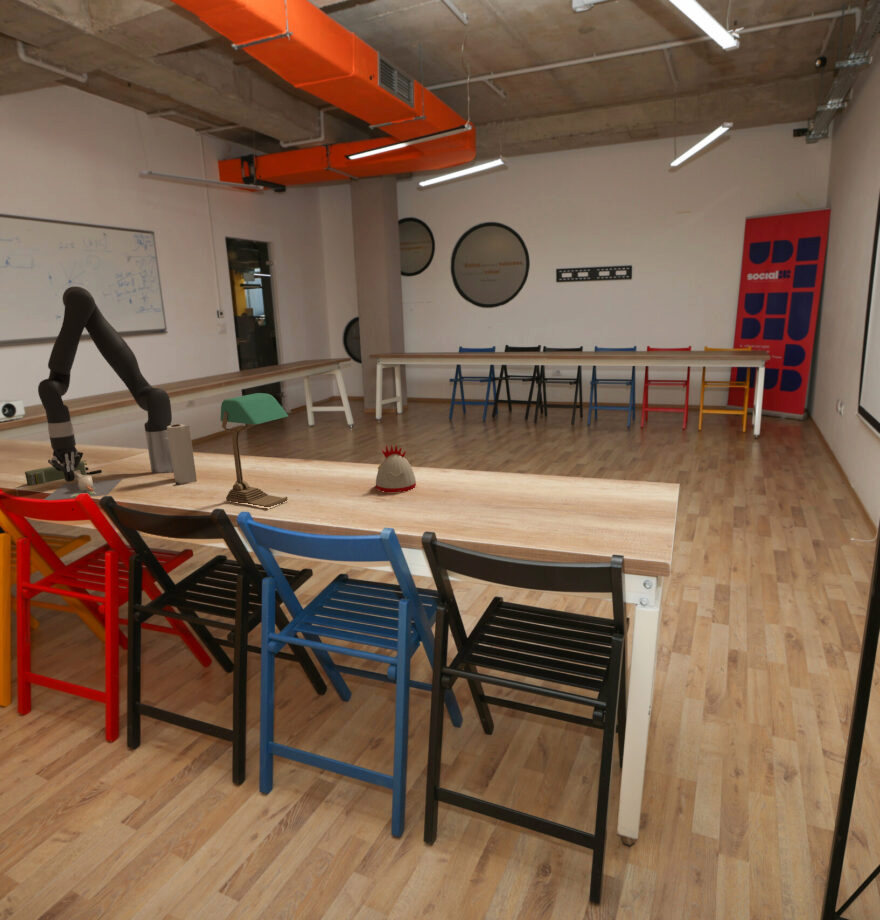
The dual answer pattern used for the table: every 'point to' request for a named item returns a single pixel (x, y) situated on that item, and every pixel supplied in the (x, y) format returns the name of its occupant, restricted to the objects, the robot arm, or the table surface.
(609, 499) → the table surface
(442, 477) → the table surface
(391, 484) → the beige knit hat
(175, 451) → the paper towel roll
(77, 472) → the lever with orange pointer
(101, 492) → the gauge board
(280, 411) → the banker's lamp
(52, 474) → the handheld radio
